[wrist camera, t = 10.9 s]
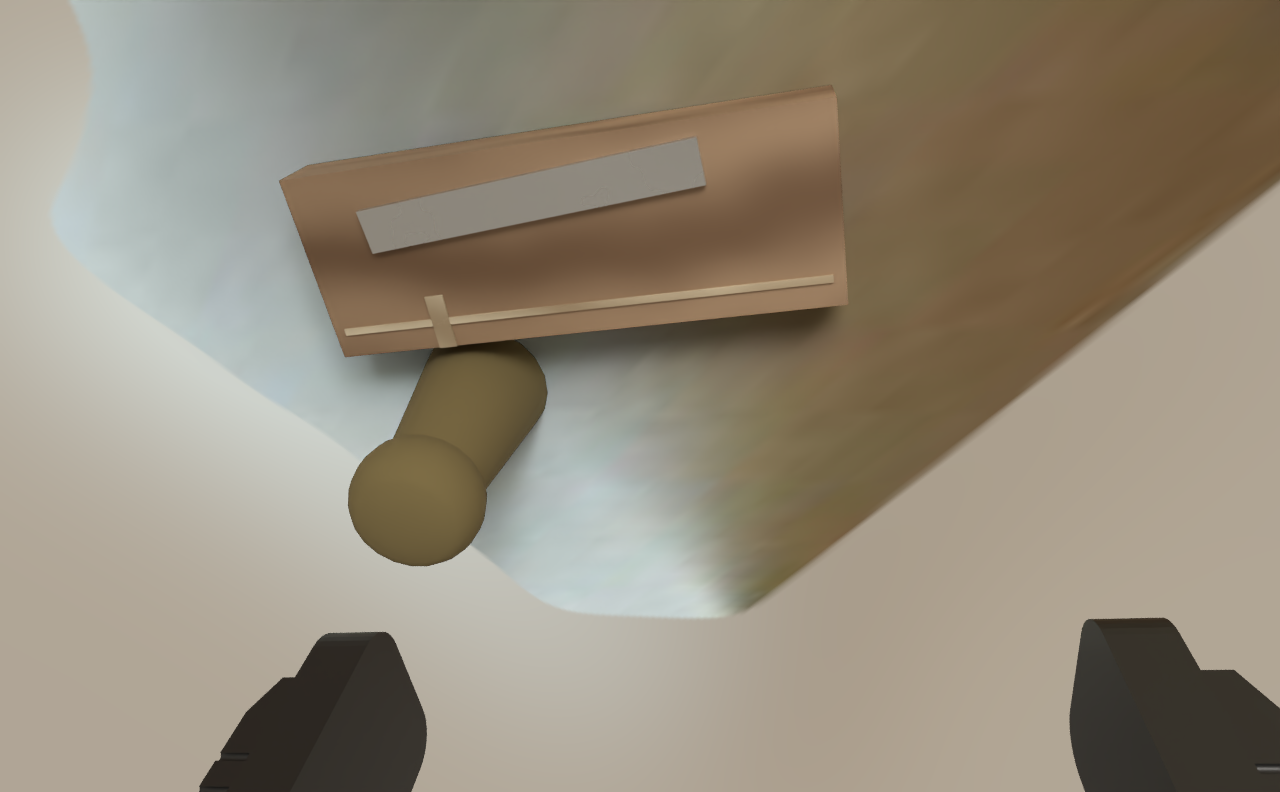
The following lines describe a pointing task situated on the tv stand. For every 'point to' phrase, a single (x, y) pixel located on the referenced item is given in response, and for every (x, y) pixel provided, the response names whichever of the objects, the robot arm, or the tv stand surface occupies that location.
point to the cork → (447, 452)
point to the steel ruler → (535, 195)
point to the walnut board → (589, 231)
